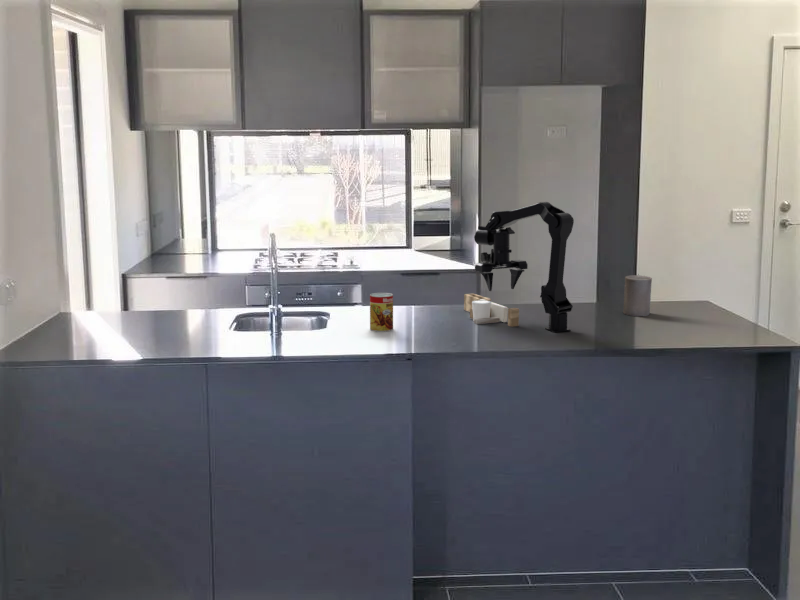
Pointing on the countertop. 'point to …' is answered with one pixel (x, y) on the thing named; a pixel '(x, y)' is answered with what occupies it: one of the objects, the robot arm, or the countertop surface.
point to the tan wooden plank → (512, 317)
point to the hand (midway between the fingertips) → (501, 290)
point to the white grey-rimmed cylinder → (481, 309)
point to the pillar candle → (637, 295)
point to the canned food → (381, 311)
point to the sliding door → (495, 312)
